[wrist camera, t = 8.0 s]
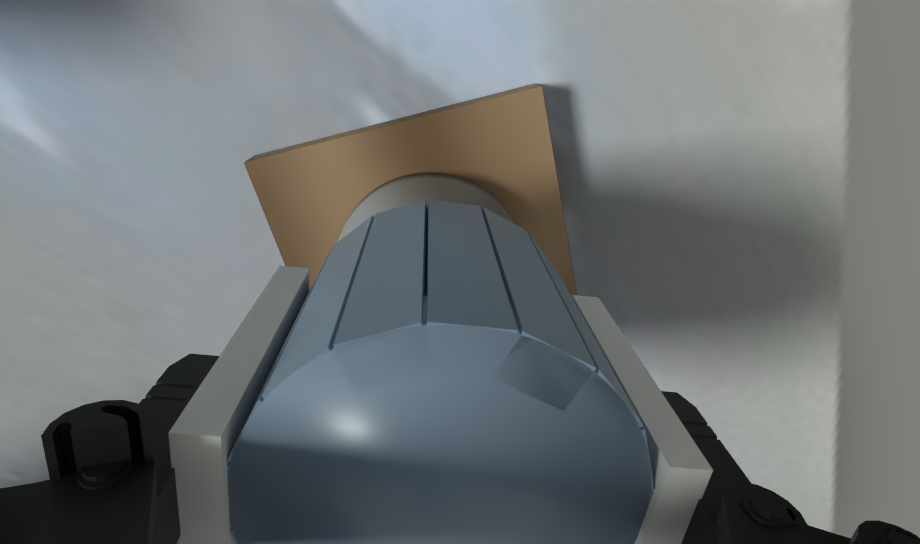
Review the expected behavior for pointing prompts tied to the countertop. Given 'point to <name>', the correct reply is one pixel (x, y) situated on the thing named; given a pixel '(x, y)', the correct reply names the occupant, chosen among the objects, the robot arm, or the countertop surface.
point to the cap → (439, 400)
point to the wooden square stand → (418, 176)
